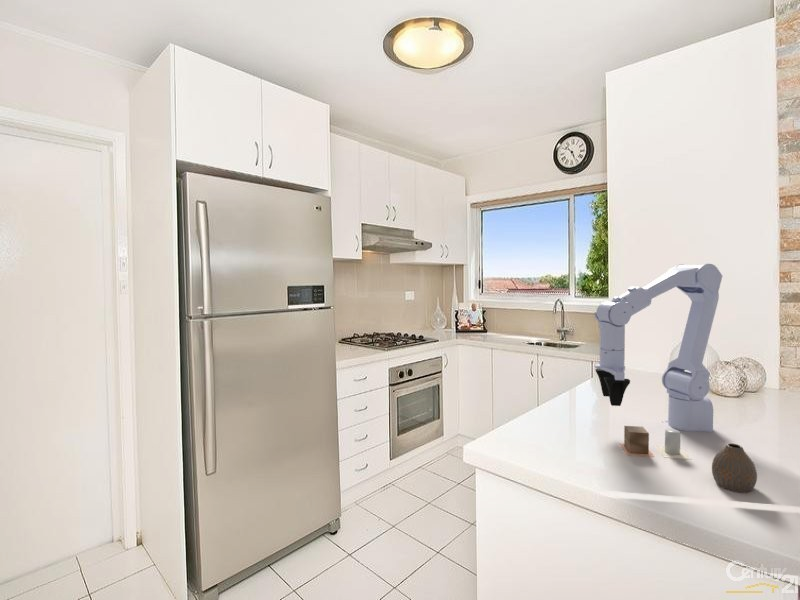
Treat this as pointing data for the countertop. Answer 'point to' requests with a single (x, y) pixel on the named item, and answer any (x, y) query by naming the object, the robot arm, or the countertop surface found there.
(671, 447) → the grey peg
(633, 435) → the walnut block
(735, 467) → the vase
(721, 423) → the countertop surface
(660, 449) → the mat
